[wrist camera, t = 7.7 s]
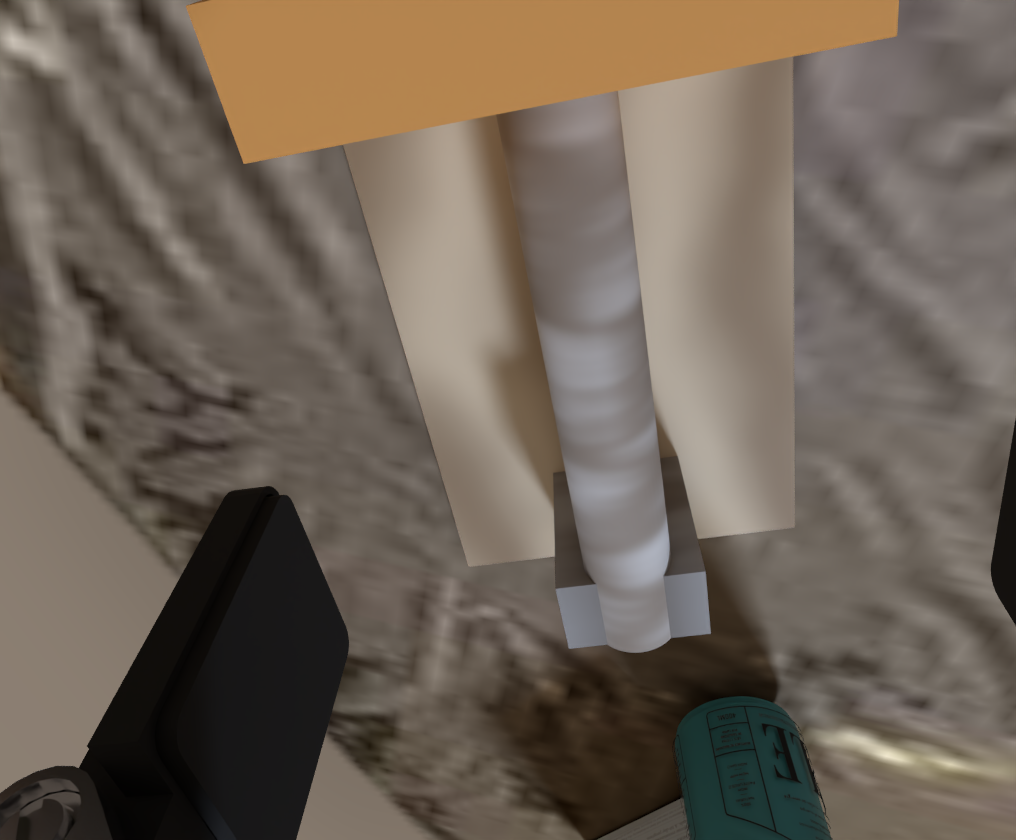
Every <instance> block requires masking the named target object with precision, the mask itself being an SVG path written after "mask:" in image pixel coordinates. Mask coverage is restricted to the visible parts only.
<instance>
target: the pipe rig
mask: <svg viewBox="0 0 1016 840" xmlns="http://www.w3.org/2000/svg"><path fill="white" fill-rule="evenodd" d="M343 147H344V150H345V153H346V157H347V160H348V163H349V167H350V170H351V174H352V177H353V180H354V184H355V187H356V190H357V194H358V197H359V200H360V204H361V207H362V210H363V214H364V217H365V220H366V224H367V227H368V231H369V234H370V237H371V241H372V244H373V247H374V251H375V254H376V257H377V261H378V264H379V267H380V271H381V274H382V277H383V281H384V284H385V288H386V291H387V294H388V298H389V301H390V304H391V308H392V311H393V314H394V318H395V321H396V324H397V328H398V331H399V334H400V338H401V341H402V345H403V348H404V351H405V355H406V358H407V361H408V365H409V368H410V371H411V375H412V378H413V381H414V385H415V388H416V391H417V395H418V398H419V402H420V405H421V408H422V412H423V415H424V418H425V422H426V425H427V428H428V432H429V435H430V438H431V442H432V445H433V449H434V452H435V455H436V459H437V462H438V465H439V469H440V472H441V475H442V479H443V482H444V485H445V489H446V492H447V495H448V499H449V502H450V506H451V509H452V512H453V516H454V519H455V522H456V526H457V529H458V532H459V536H460V539H461V542H462V546H463V549H464V552H465V556H466V559H467V563H468V566H469V567H472V566H480V565H488V564H497V563H505V562H513V561H521V560H530V559H538V558H546V557H554V556H555V585H556V593H557V597H558V602H559V606H560V611H561V615H562V620H563V624H564V629H565V633H566V638H567V642H568V646H569V649H571V648H581V647H590V646H600V645H609V646H611V647H612V648H614V649H617V650H620V651H623V652H630V653H640V652H647V651H650V650H653V649H656V648H658V647H660V646H662V645H663V644H665V643H666V642H667V641H668V640H670V638H676V637H685V636H694V635H704V634H711V629H710V617H709V606H708V594H707V582H706V571H705V567H704V563H703V559H702V554H701V550H700V546H699V542H698V539H703V538H711V537H720V536H728V535H736V534H744V533H753V532H761V531H769V530H778V529H786V528H794V527H795V433H794V182H793V57H788V58H783V59H778V60H772V61H767V62H762V63H757V64H752V65H747V66H742V67H737V68H732V69H726V70H721V71H716V72H711V73H706V74H701V75H696V76H691V77H686V78H680V79H675V80H670V81H665V82H660V83H655V84H650V85H645V86H640V87H634V88H629V89H624V90H619V91H614V92H609V93H604V94H599V95H594V96H588V97H583V98H578V99H573V100H568V101H563V102H558V103H553V104H548V105H542V106H537V107H532V108H527V109H522V110H517V111H512V112H507V113H502V114H496V115H491V116H486V117H481V118H476V119H471V120H466V121H461V122H456V123H450V124H445V125H440V126H435V127H430V128H425V129H420V130H415V131H410V132H405V133H399V134H394V135H389V136H384V137H379V138H374V139H369V140H364V141H359V142H353V143H348V144H343Z"/></svg>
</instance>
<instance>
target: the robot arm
mask: <svg viewBox="0 0 1016 840" xmlns="http://www.w3.org/2000/svg"><path fill="white" fill-rule="evenodd" d="M991 577H992V582H993V586H994V588H995V591H996V593H997V595H998V597H999V599H1000V600H1001V602H1002V604H1003V605H1004V607H1005V609H1006V610H1007V612H1008V613H1009V615H1010V617H1011V618H1012V620H1013V622H1014V623H1015V625H1016V420H1015V426H1014V432H1013V438H1012V444H1011V450H1010V456H1009V462H1008V468H1007V474H1006V480H1005V485H1004V491H1003V497H1002V503H1001V509H1000V515H999V521H998V527H997V533H996V539H995V545H994V551H993V557H992V563H991ZM348 649H349V639H348V632H347V629H346V626H345V623H344V621H343V619H342V616H341V614H340V612H339V609H338V607H337V605H336V602H335V600H334V598H333V595H332V593H331V591H330V588H329V586H328V584H327V581H326V579H325V577H324V574H323V572H322V570H321V567H320V565H319V563H318V560H317V558H316V556H315V553H314V551H313V549H312V546H311V544H310V542H309V539H308V537H307V535H306V532H305V530H304V528H303V525H302V523H301V521H300V518H299V516H298V514H297V511H296V509H295V507H294V504H293V502H292V501H291V499H290V498H289V497H288V496H287V495H279V493H278V492H277V491H276V490H275V489H274V488H273V487H270V486H266V487H258V488H250V489H242V490H234V491H231V492H229V493H228V494H227V495H226V496H225V497H224V499H223V501H222V503H221V505H220V507H219V508H218V510H217V512H216V514H215V516H214V517H213V519H212V521H211V523H210V525H209V526H208V528H207V530H206V532H205V534H204V535H203V537H202V539H201V541H200V543H199V544H198V546H197V548H196V550H195V552H194V554H193V555H192V557H191V559H190V561H189V563H188V564H187V566H186V568H185V570H184V572H183V573H182V575H181V577H180V579H179V581H178V582H177V584H176V586H175V588H174V590H173V592H172V593H171V595H170V597H169V599H168V601H167V602H166V604H165V606H164V608H163V610H162V612H161V613H160V615H159V617H158V619H157V620H156V622H155V624H154V626H153V628H152V630H151V631H150V633H149V635H148V637H147V639H146V640H145V642H144V644H143V646H142V648H141V649H140V651H139V653H138V655H137V657H136V659H135V660H134V662H133V664H132V666H131V667H130V669H129V671H128V673H127V675H126V676H125V678H124V680H123V682H122V684H121V686H120V687H119V689H118V691H117V693H116V695H115V696H114V698H113V700H112V702H111V704H110V705H109V707H108V709H107V711H106V713H105V714H104V716H103V718H102V720H101V722H100V723H99V725H98V727H97V729H96V731H95V733H94V734H93V736H92V738H91V740H90V742H89V743H88V745H87V747H88V748H89V750H88V752H87V754H86V756H85V758H84V759H83V761H82V763H81V765H80V767H79V768H76V767H74V766H54V767H51V768H47V769H43V770H40V771H37V772H35V773H32V774H30V775H28V776H27V777H24V778H23V779H20V780H18V781H17V782H15V783H13V784H12V785H11V786H9V787H8V788H7V789H5V790H4V791H3V792H1V793H0V840H296V838H297V834H298V831H299V827H300V824H301V820H302V816H303V813H304V809H305V805H306V802H307V798H308V795H309V791H310V788H311V784H312V781H313V777H314V773H315V770H316V766H317V763H318V759H319V755H320V752H321V748H322V745H323V741H324V738H325V734H326V731H327V727H328V723H329V720H330V716H331V713H332V709H333V705H334V702H335V698H336V695H337V691H338V688H339V684H340V680H341V677H342V673H343V670H344V666H345V663H346V659H347V655H348Z"/></svg>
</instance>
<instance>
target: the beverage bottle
mask: <svg viewBox="0 0 1016 840" xmlns="http://www.w3.org/2000/svg"><path fill="white" fill-rule="evenodd" d="M794 723H795V722H794V721H793V720H792V719H791V718H790V717H789V715H788V714H787V713H786V712H785V711H784V710H783V709H782V708H781V707H779V706H778V705H776V704H774V703H772V702H770V701H767V700H764V699H760V698H755V697H746V696H736V697H727V698H721V699H717V700H713V701H710V702H707V703H705V704H702V705H700V706H699V707H697V708H695V709H694V710H692V711H691V712H689V713H688V714H687V715H686V716H685V717H684V718H683V719H682V721H681V722H680V724H679V726H678V729H677V733H676V737H675V739H676V740H674V741H675V749H674V750H675V751H676V753H675V751H674V753H675V754H676V756H675V757H676V761H677V763H678V765H676V764H677V763H676V761H675V759H674V763H675V764H674V765H676V766H678V769H679V773H678V772H677V773H678V775H680V777H679V776H678V777H679V779H680V780H679V781H681V782H680V783H681V787H680V789H681V788H682V794H683V798H682V797H681V798H682V800H684V806H685V808H684V810H685V812H686V818H687V823H686V824H688V827H687V825H686V827H687V828H688V829H687V831H688V830H689V834H688V835H689V836H690V838H689V839H690V840H832V838H831V836H830V832H829V829H828V826H827V823H828V822H826V820H825V817H824V815H825V816H826V809H825V814H823V813H824V812H823V810H822V807H821V804H820V801H819V798H818V795H819V793H820V794H821V792H819V793H818V790H819V791H820V789H817V788H818V787H819V786H816V785H817V784H818V783H815V782H816V780H814V779H815V777H816V776H815V777H814V774H815V773H814V770H813V772H812V769H811V766H810V764H809V759H810V758H807V755H806V750H807V748H806V750H805V749H804V745H803V744H804V743H803V742H802V741H801V740H800V737H799V734H798V733H799V731H797V728H796V726H795V724H796V723H795V724H794ZM796 725H797V724H796ZM798 728H799V727H798ZM799 729H800V728H799ZM800 731H801V730H800ZM801 733H802V732H801ZM801 737H802V735H801ZM803 740H804V739H803ZM673 744H674V742H673ZM805 747H806V746H805ZM672 752H673V747H672ZM807 753H808V751H807ZM808 756H809V754H808ZM675 757H673V758H675ZM810 762H811V761H810ZM678 769H677V770H678ZM678 777H677V779H678ZM679 781H677V782H678V784H679ZM678 789H679V785H678ZM679 795H680V794H679ZM819 796H821V795H819ZM820 798H821V799H822V796H821V797H820ZM682 802H683V801H682ZM822 802H823V799H822ZM823 805H824V802H823ZM681 806H682V805H681ZM682 808H683V807H682ZM824 808H825V805H824ZM684 810H683V813H684ZM683 815H684V814H683ZM684 816H685V815H684ZM826 817H827V816H826ZM684 818H685V817H684ZM827 818H828V817H827ZM828 820H829V819H828ZM685 821H686V820H685ZM829 822H830V821H829ZM684 826H685V825H684ZM829 826H830V825H829ZM830 829H831V828H830ZM687 831H685V832H687ZM686 837H687V833H686ZM687 839H688V838H687Z"/></svg>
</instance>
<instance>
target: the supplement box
mask: <svg viewBox="0 0 1016 840" xmlns="http://www.w3.org/2000/svg"><path fill="white" fill-rule="evenodd" d="M682 801H683V802H682ZM681 805H682V806H681ZM682 807H683V808H682ZM684 808H685V806H684V800H682V798H681V799H679V800H677V801H675V802H673V803H671V804H669V805H666V806H664V807H662V808H660V809H658V810H656V811H654V812H652V813H650V814H648V815H646V816H644V817H642V818H640V819H638V820H636V821H634V822H632V823H630V824H628V825H626V826H624V827H622V828H620V829H618V830H616V831H614V832H612V833H610V834H607V835H605V836H603V837H601V838H599V839H597V840H690V839H689V838H690V836H689V835H688V834H689V830H688V831H687V829H688V828H687V827H688V824H686V823H687V818H686V812H685V810H684ZM683 810H684V813H683ZM683 814H684V815H685V816H684V815H683ZM684 817H685V818H684ZM685 820H686V821H685ZM684 825H685V826H684ZM686 825H687V827H686ZM685 831H687V832H685ZM686 833H687V837H686ZM687 838H688V839H687Z"/></svg>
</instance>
